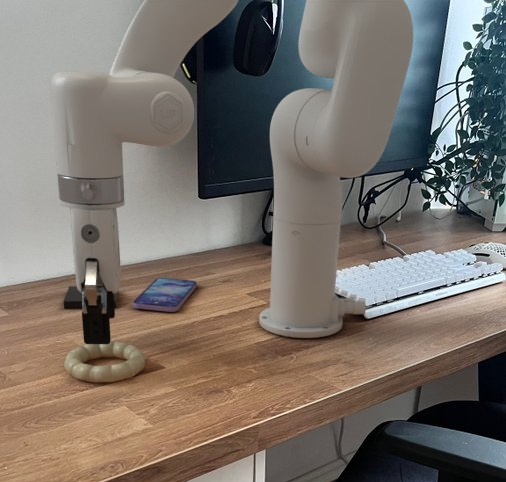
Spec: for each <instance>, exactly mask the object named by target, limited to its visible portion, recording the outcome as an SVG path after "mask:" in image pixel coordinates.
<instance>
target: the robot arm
mask: <svg viewBox="0 0 506 482" xmlns="http://www.w3.org/2000/svg"><path fill="white" fill-rule="evenodd" d="M238 2H239V0H143V1H142V4H141V5H140V6H139V8H138V10H137V11H136V13H135V14H134V17H133V18H132V19H131V22H130V24H129V26H128V28H127V30H126V32H125V34H124V36H123V38H122V41H121V43H120V45H119V47H118V50H117V53H116V55H115V58H114V60H113V63H112V66H111V68H110V71H109V73H105V72H96V71H85V70H82V71H81V70H62V71H58V72H56V73H54V74H53V75H52V77H51V78H50V84H49V92H50V93H49V95H50V105H51V115H52V117H51V118H52V128H53V138H54V151H55V162H56V163H55V165H56V173H57V186H58V197H59V199H58V201H59V204H60V205H61V206H62V207H65V208H69V212H70V228H71V229H70V230H71V243H72V254H73V265H74V275H75V283H76V286H77V289H78V290H79V291H80V292H81V293H83V308H82V311H81V320H82V335H83V343H84V345H87V344H109V343H110V342H112V339H111V319H114V318H115V317H116V310H115V309H116V308H115V305H114V294H115V293H116V292H117V291H118V292H119V290H120V285H121V280H122V267H121V252H120V249H121V248H120V233H119V232H120V231H119V221H118V213H117V209H118V208H121V207H124V206H125V205H126V203H125V184H124V183H125V182H124V161H123V160H124V157H123V143H127V144H128V143H129V144H137V145H142V146H143V145H144V146H150V147H157V148H158V147H159V148H164V147H170V146H173V145H175V144H177V143H179V142H180V141H182V140H183V139H184V138H185V137H186V136H187V135H188V134H189V132H190V131H191V129H192V127H193V124H194V121H195V105H194V101H193V98H192V95H191V94H190V92H189V91H188V89H187V88H186V87H185V86H184V85H183V83H181V82H180V81H179V80H177V79H176V78H174V77H175V75H176V73H177V71H178V70H179V67H180V65H181V64H182V62H183V61H184V59H185V57H186V55H187V54H188V53H189V51H191V49H192V47H194V46H195V44H196V43H197V42H198V41H199V40H200V39H201V38H202V37H203V36H204V35H205V34H207V33H209V31H210V30H212V29H213V28H214V27H216V26H218V25H219V24H220V23H221V22H223V20H225V18H226V17H227V16H228V15H229V14H230V13H231V12H232V11H233V10H234V8H235V7H236V6H237V4H238ZM302 14H303V15H302V20H301V24H300V28H299V33H298V34H299V35H298V44H297V47H298V54H299V59H300V62H301V63H302V65H303V66H304V68H305V69H306V70H307V71H309V72H310V73H311V74H313V75H315V76H317V77H320V78H326V79H330V80H331V79H332V80H333V83H332V87H331V89H326V88H316V87H312V88H311V87H309V88H308V87H307V88H301V89H298V90H297V89H296V90H294V91H292V92H290V93H289V94H287V95H286V96H285V97H284V98H283V99H281V101H280V102H279V103H278V104H277V106H276V107H275V110H274V111H273V114H272V117H271V120H270V125H269V147H270V155H271V163H272V171H273V172H272V173H273V213H272V215H273V216H272V237H271V238H272V240H271V262H270V263H271V268H270V290H269V291H270V294H269V307H267V308H265V309H263V310H262V311H260V313H259V317H258V323H259V325H260V327H261V328H262V329H264V330H265V331H268V332H269V333H273V334H275V335H279V336H282V337H287V338H294V339H295V338H297V339H314V338H315V339H317V338H324V337H328V336H331V335H334V334H336V333H338V332H339V331H341V329H342V328H343V321H344V319H343V318H344V317H345V315H365V314H366V310H367V304H366V301H364V300H360V301H359V300H357V301H356V300H355V301H354V298H353V297H344V298H339V297H338V295H337V294H336V283H337V273H338V272H337V271H338V259H339V249H340V239H341V238H340V236H341V223H342V218H343V217H342V216H343V189H342V188H343V187H342V183H341V178H344V179H345V178H346V179H354V178H358V177H361V176H363V175H365V174H367V173H368V172H370V171H371V170H372V169H373V168H374V167H375V166H376V165H377V163H378V162H379V161H380V159H381V158H382V155H383V153H384V151H385V149H386V146H387V144H388V142H389V139H390V135H391V133H392V128H393V126H394V121H395V117H396V114H397V112H398V111H397V110H398V107H399V103H400V100H401V96H402V92H403V89H404V85H405V81H406V77H407V74H408V70H409V67H410V62H411V58H412V53H413V48H414V25H413V24H414V23H413V17H412V14H411V11H410V9H409V7H408V4H407V2H406V1H405V0H305V5H304V10H303V13H302Z"/></svg>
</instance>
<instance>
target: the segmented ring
mask: <svg viewBox="0 0 506 482" xmlns="http://www.w3.org/2000/svg"><path fill="white" fill-rule="evenodd" d="M99 358H118V359H122V360H126V361H124V362H120V363H115V364H112V365H92V364H88V363H86V362H87V361H91V360H95V359H99ZM63 364H64V365H63V367H64V370H65V371H66V372H67V373H68V374H69V375H71V376H72V377H73V378H74V379H76V380H80V381H85V382H89V383H95V384H96V383H115V382H119V381H122V380H127V379H131V378H133V377H134V376H136V375H137V374H139V373H140V372H142V371H143V370H144V368H145V366H146V355H145V353H144V351H142V350H141V349H140V348H138V347H137V346H135V345H133V344H130V343H125V342H119V341H110V343H109V344H83V345H80V346H78V347H77V348H75V349H73V350H71V351H69V352H68V353H67V354H66V356H65V359H64V363H63Z"/></svg>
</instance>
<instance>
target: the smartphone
mask: <svg viewBox="0 0 506 482" xmlns="http://www.w3.org/2000/svg"><path fill="white" fill-rule="evenodd" d="M197 287H198V282H197V280H191V279H181V278H172V277H157V278H155V279H154V280H153V281H152V282H151V283H150V284H149V285H148V286H147V287H146V288H145V289H144V290H143V291H142V292H141V293H140V294H139V295H138V296H137V297H136V298H135V299H134V300H133V301H132V307H133V308H135V309H141V310H151V311H160V312H168V313H169V312H170V313H174V312H177V311H179V310H180V309H181V307H182V306H183V305H184V303H185V302H186V301H187V300H188V299H189V297H190V296H191V295H192V293H193V292H194V291H195V290H196V289H197Z"/></svg>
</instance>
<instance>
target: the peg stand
mask: <svg viewBox="0 0 506 482" xmlns="http://www.w3.org/2000/svg"><path fill="white" fill-rule="evenodd" d="M118 297H119V290H118V291H117V292H116V293H115V294H114V305H115V309H116V308H117V305H118V299H119V298H118ZM63 309H64V310H68V309H69V310H70V309H71V310H73V309H74V310H75V309H78V310H79V309H83V293H81V292H80V291H79V290H78V289H77V285H73V286H71V285H70V286H68V289H67V291H66V293H65V295H64V299H63Z"/></svg>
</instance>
